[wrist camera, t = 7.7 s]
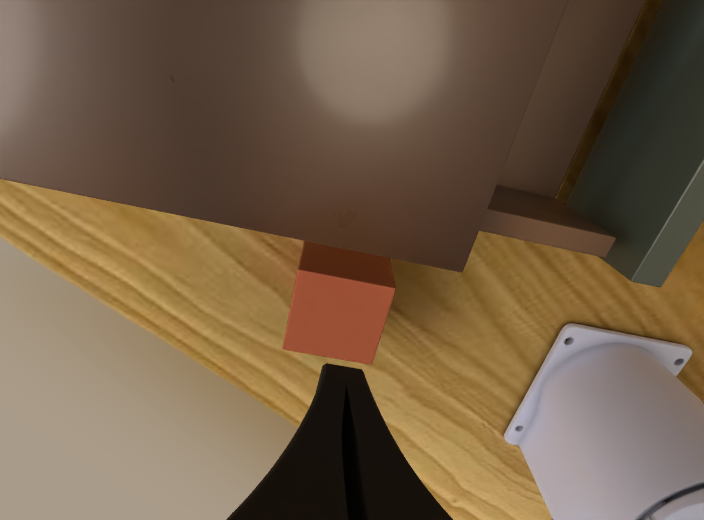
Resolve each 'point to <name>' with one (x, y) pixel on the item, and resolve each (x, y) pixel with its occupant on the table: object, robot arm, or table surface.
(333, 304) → the block
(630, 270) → the drawer
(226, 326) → the table surface
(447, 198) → the cabinet
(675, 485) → the robot arm
